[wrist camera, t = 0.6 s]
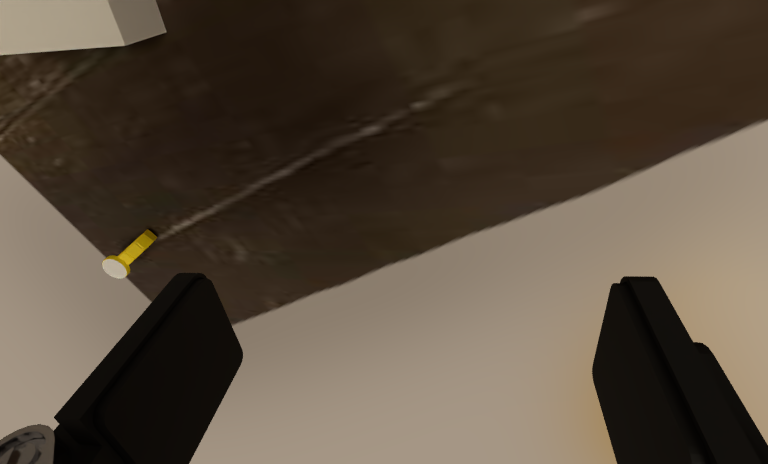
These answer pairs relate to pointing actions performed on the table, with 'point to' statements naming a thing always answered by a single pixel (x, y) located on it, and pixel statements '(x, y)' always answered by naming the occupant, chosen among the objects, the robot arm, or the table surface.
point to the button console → (75, 24)
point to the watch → (127, 256)
